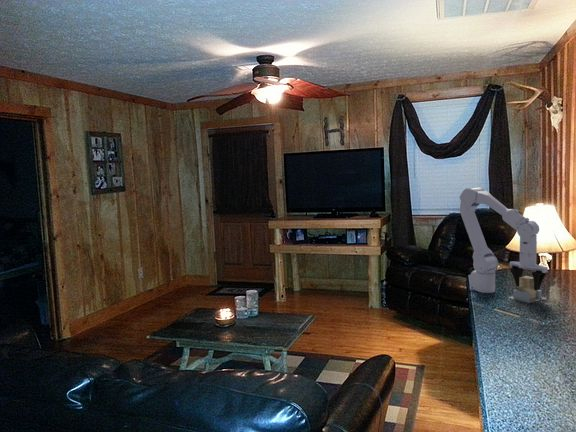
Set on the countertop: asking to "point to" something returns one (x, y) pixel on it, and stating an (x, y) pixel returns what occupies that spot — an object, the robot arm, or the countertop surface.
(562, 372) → the countertop surface
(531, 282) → the peg
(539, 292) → the vise
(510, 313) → the mat
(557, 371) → the countertop surface
